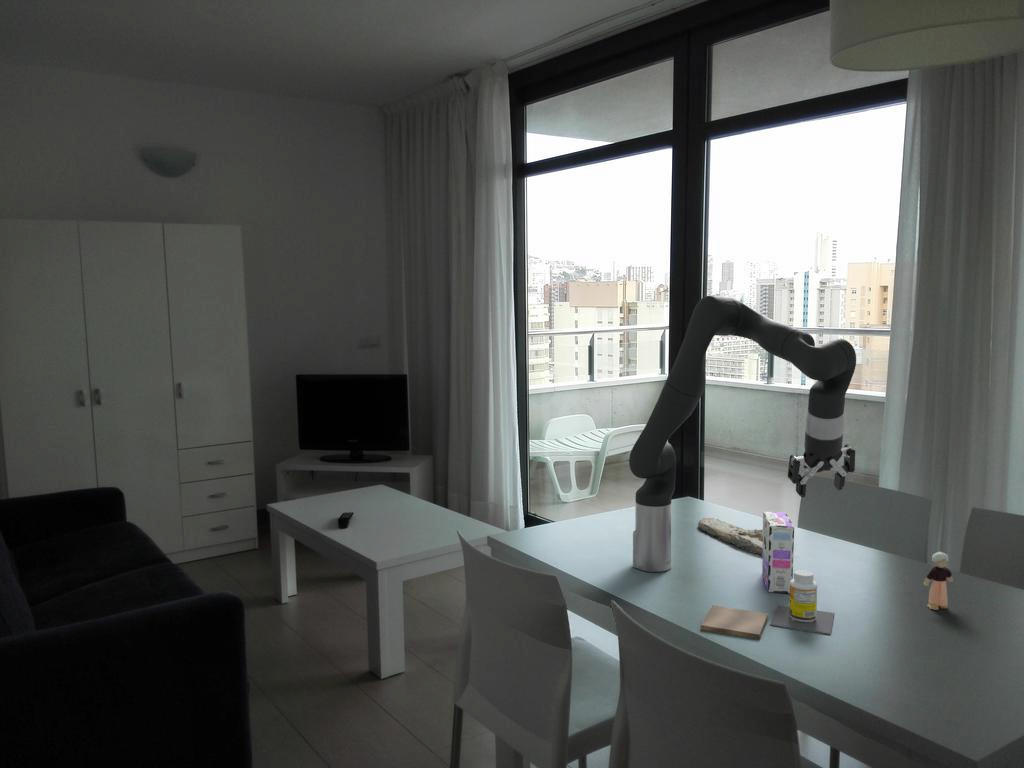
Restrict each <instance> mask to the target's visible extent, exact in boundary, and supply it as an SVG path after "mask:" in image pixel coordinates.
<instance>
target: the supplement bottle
mask: <svg viewBox="0 0 1024 768" xmlns="http://www.w3.org/2000/svg"><path fill="white" fill-rule="evenodd" d="M814 579H815V578H814V573H813V572H812V571H809V570H806V569H796V570H795V571H794V570H793V579H792V580H791V581H790V593H789V606H790V610H789V614H790V617H791V618H792V619H793V620H796V621H799V622H813V621H815V620H816V616H817V611H818V608H817V606H818V604H817V603H818V584H817V582H816V581H815V580H814Z"/></svg>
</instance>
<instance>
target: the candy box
mask: <svg viewBox="0 0 1024 768" xmlns="http://www.w3.org/2000/svg"><path fill="white" fill-rule="evenodd" d="M762 530H763V555H762V562H761V563H762V569H761V572H762V573H761V574H762V575H761V576H762V577H763V581H764V583H765V585H766V589H767V593H776V594H777V593H779V594H782V593H783V594H790V581H791V580H792V579H794V550H795V549H794V548H795V546H794V543H795V526H794V524H793V522H792V521H791V519H790V517H789V515H788V514H787V512H784V511H783V512H782V511H763V512H762Z"/></svg>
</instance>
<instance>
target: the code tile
mask: <svg viewBox="0 0 1024 768" xmlns="http://www.w3.org/2000/svg"><path fill="white" fill-rule="evenodd" d="M775 607H776V608H775V610H774V613H773V615H772V618H771V621H770V624H769V626H771V627H777V628H782V629H789V630H796V631H803V632H807V633H815V634H821V635H828V636H831V633H832V628H833V623H834V617H835V612H831V611H830V612H829V611H822V610H817V616H816V620H815V621H813V622H799V621H796V620H793V619H792V618H791V617H790V614H789V610H790V605H789V606H787V605H781V604H777V605H776V606H775Z"/></svg>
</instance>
